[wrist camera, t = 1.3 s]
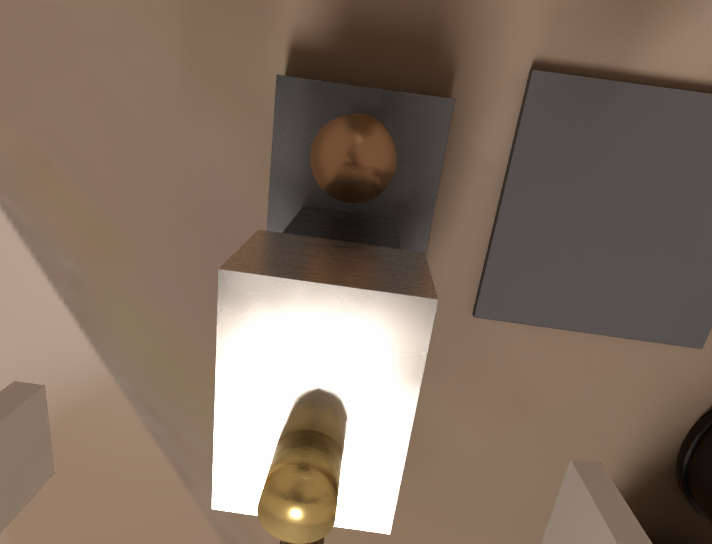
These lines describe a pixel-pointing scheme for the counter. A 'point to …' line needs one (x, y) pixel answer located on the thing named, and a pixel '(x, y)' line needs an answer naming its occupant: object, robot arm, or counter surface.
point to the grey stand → (356, 163)
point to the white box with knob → (317, 381)
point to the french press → (697, 467)
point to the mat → (605, 213)
